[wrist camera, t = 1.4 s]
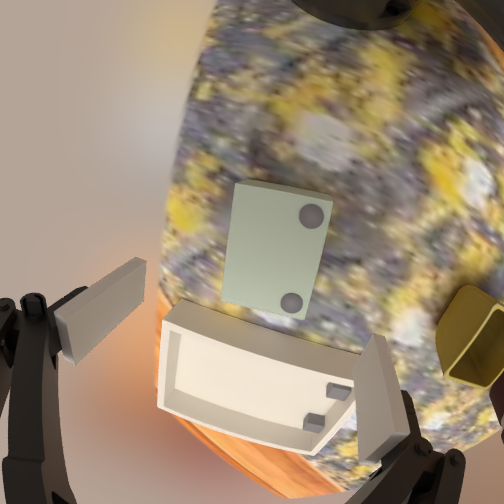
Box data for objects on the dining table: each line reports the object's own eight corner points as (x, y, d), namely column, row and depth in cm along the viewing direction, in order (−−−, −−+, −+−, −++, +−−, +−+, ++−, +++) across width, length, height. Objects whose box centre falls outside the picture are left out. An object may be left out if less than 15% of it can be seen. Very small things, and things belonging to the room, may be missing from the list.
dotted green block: (248, 178, 27) (234, 183, 22) (329, 194, 26) (333, 202, 21) (234, 279, 31) (219, 301, 26) (305, 295, 30) (304, 321, 25)
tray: (181, 298, 33) (162, 319, 28) (369, 357, 30) (374, 384, 26) (170, 385, 39) (157, 406, 34) (316, 430, 37) (314, 455, 32)
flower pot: (418, 328, 28) (441, 378, 20) (457, 265, 25) (497, 302, 16) (461, 346, 27) (486, 391, 19) (497, 291, 24) (534, 328, 16)
